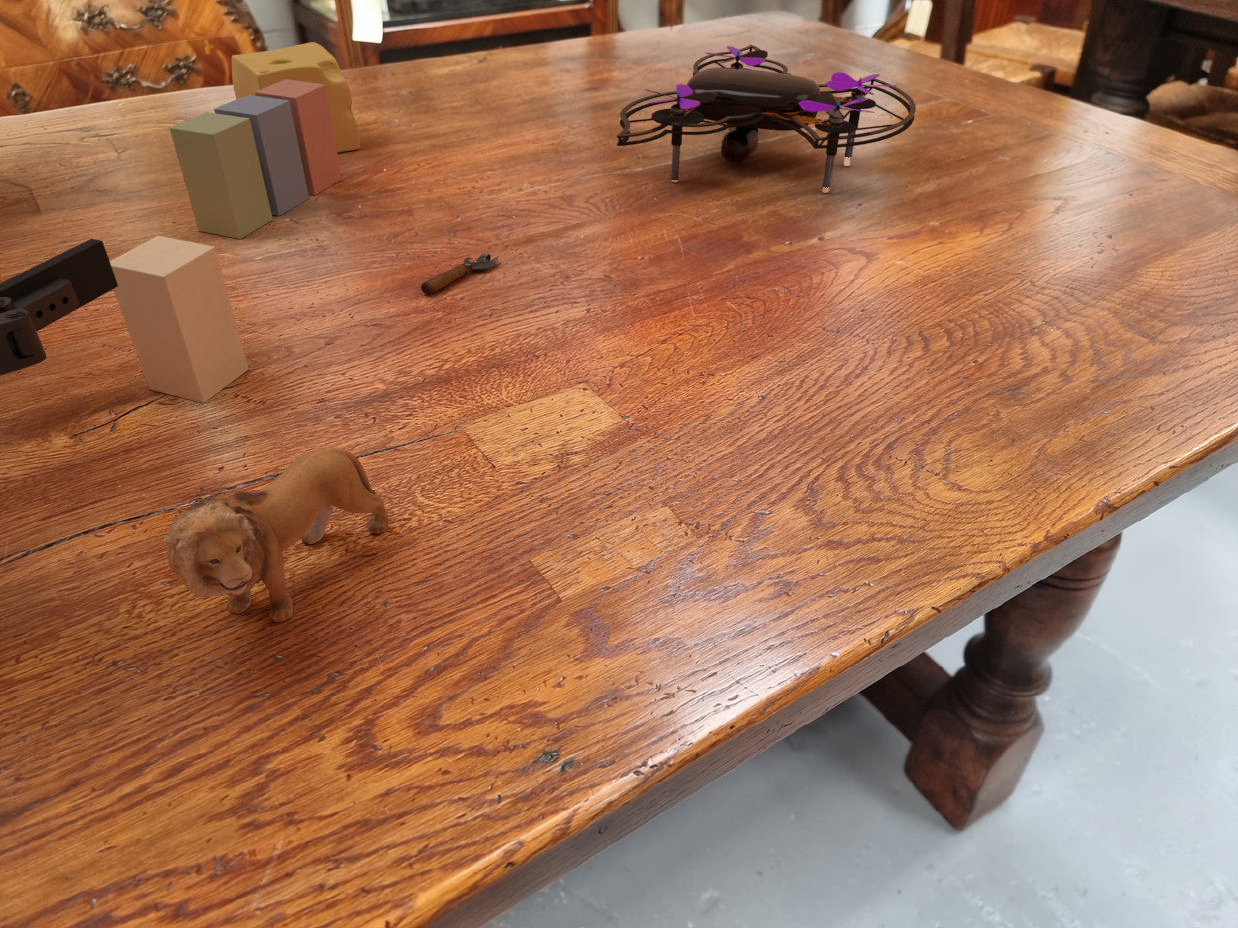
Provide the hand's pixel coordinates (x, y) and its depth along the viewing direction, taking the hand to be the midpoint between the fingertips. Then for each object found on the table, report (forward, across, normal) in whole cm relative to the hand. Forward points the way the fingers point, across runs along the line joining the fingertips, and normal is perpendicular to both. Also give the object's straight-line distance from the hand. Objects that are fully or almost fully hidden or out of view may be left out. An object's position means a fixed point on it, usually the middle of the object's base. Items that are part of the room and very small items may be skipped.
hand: (12, 243), depth 53 cm
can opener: (+32, +10, -15) cm, 37 cm away
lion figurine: (-5, +20, -15) cm, 26 cm away
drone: (+70, +30, -15) cm, 77 cm away
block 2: (+10, 0, -15) cm, 18 cm away
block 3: (+40, -16, -15) cm, 45 cm away
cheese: (+56, -24, -15) cm, 63 cm away
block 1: (+34, -16, -15) cm, 40 cm away
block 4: (+46, -16, -15) cm, 51 cm away
